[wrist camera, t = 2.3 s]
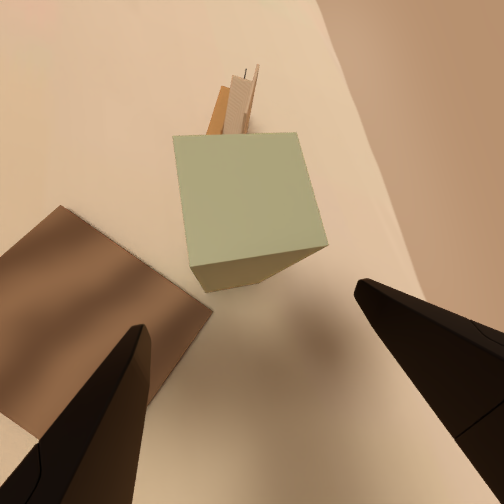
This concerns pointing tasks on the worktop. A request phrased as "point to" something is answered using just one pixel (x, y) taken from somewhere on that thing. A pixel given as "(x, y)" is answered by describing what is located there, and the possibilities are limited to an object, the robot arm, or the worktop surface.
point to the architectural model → (233, 107)
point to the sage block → (245, 206)
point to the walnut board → (79, 316)
